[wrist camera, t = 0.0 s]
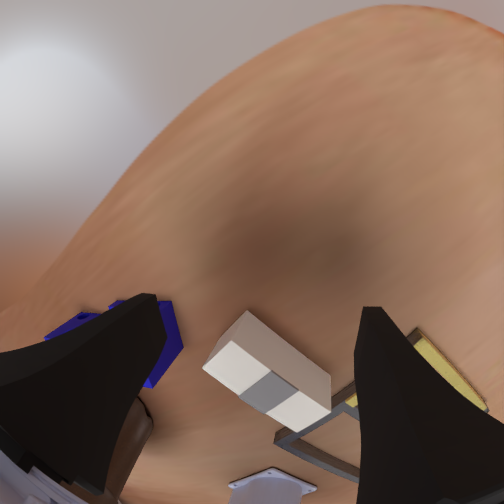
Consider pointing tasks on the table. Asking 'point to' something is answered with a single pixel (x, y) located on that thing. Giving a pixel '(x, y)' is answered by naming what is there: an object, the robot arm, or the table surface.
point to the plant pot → (120, 457)
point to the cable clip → (170, 347)
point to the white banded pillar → (270, 374)
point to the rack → (348, 404)
